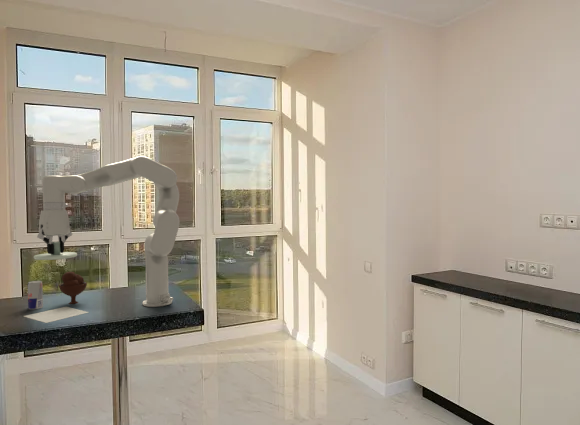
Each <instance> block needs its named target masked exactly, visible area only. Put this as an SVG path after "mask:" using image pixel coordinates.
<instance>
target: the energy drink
mask: <svg viewBox="0 0 580 425" xmlns="http://www.w3.org/2000/svg"><path fill="white" fill-rule="evenodd" d="M43 292H44V290H43V281H42V280H32V281H31V280H30V281H28V282H27V308H28V310H38V309H39V310H40V309H42V308H43V307H44V297H43V294H44V293H43Z"/></svg>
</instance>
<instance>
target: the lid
mask: <svg viewBox="0 0 580 425" xmlns="http://www.w3.org/2000/svg"><path fill="white" fill-rule="evenodd" d="M52 244H54V254H48V252H45V253H40V254H35V255H33V259H34V260H36V261H50V260H52V261H53V260H65V259H71V258H76V257H77V256H78V253H77V252H74V251H73V252H72V251H64V253H60V242H59V241H52Z"/></svg>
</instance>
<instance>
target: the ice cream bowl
mask: <svg viewBox="0 0 580 425" xmlns="http://www.w3.org/2000/svg"><path fill="white" fill-rule="evenodd" d="M61 276H62V277H61V281H62V283H60V284H58V288H59V290H60V292H61V293H63V294H64V295H66V296H69V297H70V298H71V299H70V302H68V304H69V305H75V304H79V301H77V300H76V297H77V296H78V295H80V294H81V293H83V292H84V291H85V289H86V288H87V285H88V282H86V281H85V280H84V277H83V276H82V275H80V274H77V273H75V271H67V272H64V274H62V275H61Z"/></svg>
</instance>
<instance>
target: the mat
mask: <svg viewBox="0 0 580 425" xmlns="http://www.w3.org/2000/svg"><path fill="white" fill-rule="evenodd" d="M89 313H90V311H86V310H82V309H76V308H72V307H69V306H62V307H58V308H54V309H50V310H45V311H44V310H43V311H41V312H37V313H32V314H26V315H23V316H22V317H24V318H27V319H31V320H33V321H38V322H41V323H45V324H47V323H52V322H56V321H61V320H64V319H68V318H72V317H76V316H77V317H78V316H81V315H84V314H89Z"/></svg>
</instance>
